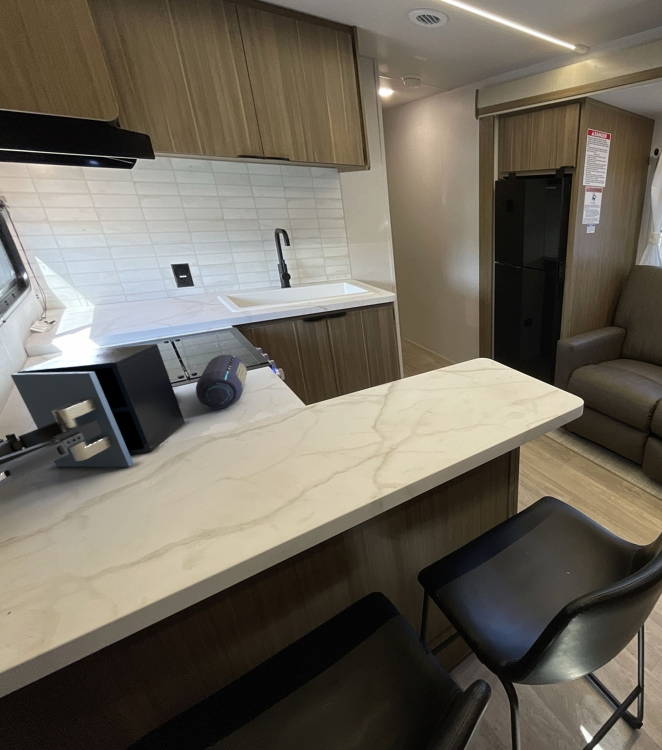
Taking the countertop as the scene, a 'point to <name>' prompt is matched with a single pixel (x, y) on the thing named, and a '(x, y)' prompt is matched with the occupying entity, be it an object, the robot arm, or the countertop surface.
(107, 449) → the freezer door
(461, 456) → the countertop surface
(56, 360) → the box
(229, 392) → the portable speaker
